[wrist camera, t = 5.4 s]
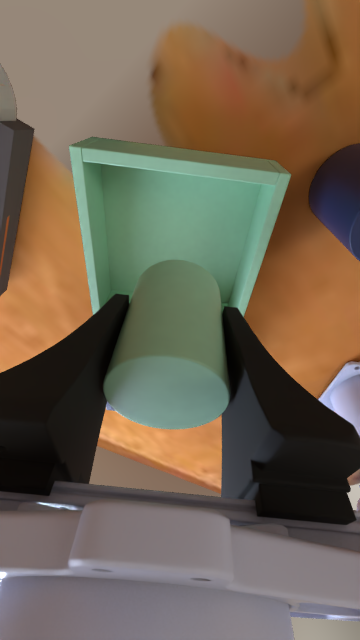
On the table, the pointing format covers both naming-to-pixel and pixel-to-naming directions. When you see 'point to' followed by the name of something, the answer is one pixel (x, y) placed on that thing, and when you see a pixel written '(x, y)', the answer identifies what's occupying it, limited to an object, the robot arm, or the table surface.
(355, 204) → the navy peg
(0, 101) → the electronic device
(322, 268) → the table surface
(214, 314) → the mint peg
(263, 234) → the mint tub
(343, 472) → the robot arm
